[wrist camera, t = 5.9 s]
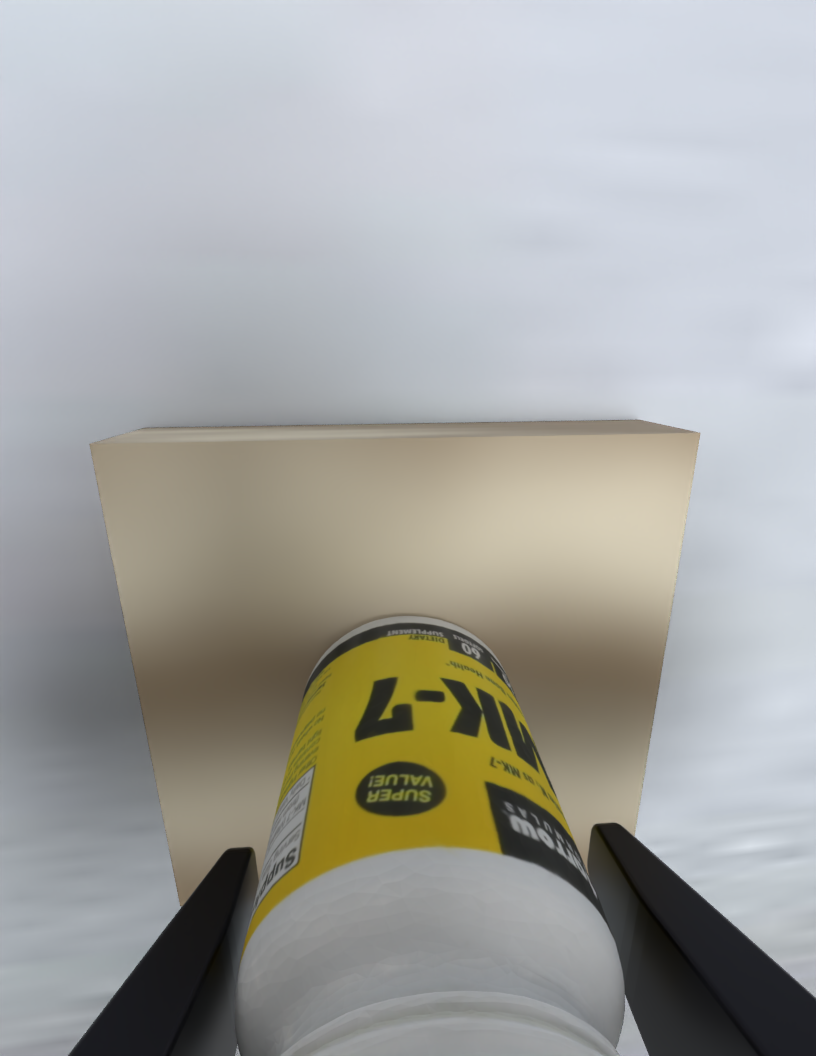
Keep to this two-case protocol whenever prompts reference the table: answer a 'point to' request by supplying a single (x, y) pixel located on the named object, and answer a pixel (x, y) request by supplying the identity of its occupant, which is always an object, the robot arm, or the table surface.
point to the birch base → (390, 592)
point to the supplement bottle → (422, 871)
